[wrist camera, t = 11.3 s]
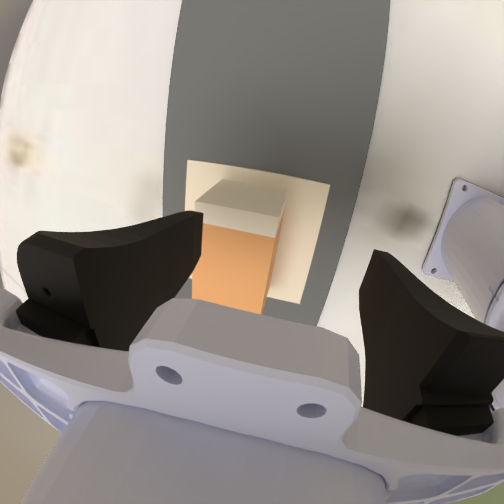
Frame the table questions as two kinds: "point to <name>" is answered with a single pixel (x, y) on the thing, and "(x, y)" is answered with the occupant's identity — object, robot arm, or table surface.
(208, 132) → the mat
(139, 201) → the table surface
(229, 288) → the card box
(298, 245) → the pad
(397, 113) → the table surface
